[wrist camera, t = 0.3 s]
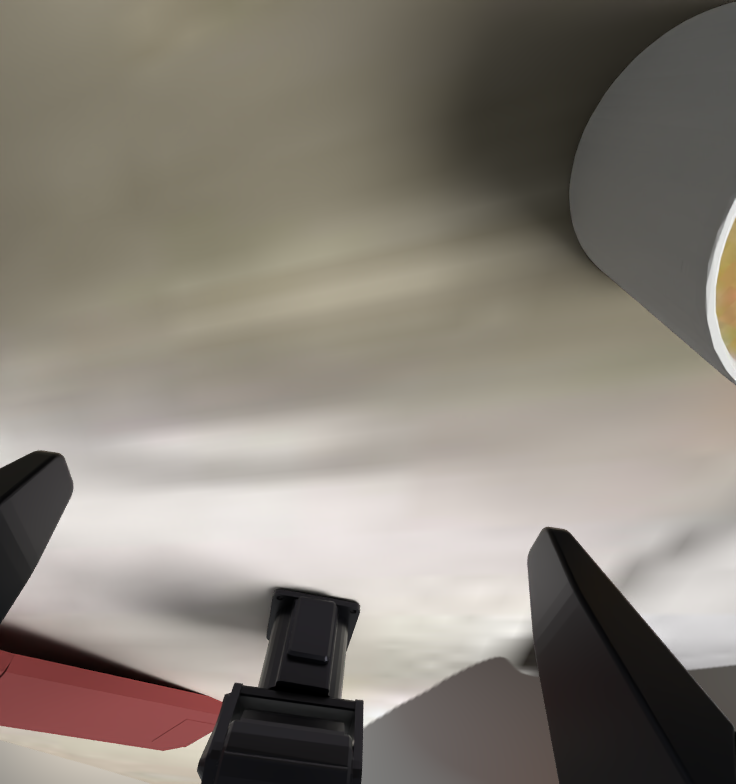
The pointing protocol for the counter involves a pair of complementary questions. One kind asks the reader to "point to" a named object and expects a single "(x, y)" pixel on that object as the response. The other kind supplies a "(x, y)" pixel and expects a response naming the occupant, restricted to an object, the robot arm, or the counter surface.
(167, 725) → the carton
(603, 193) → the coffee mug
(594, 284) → the counter surface
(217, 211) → the counter surface
